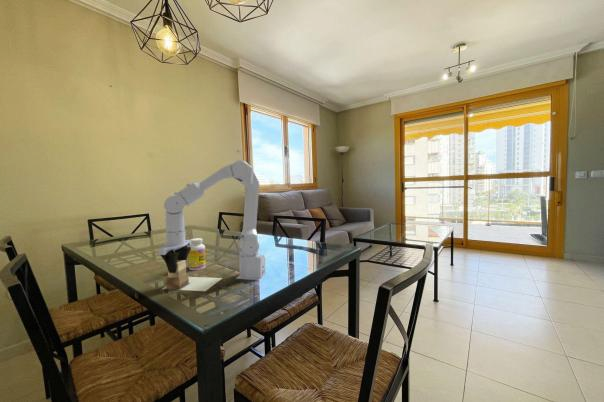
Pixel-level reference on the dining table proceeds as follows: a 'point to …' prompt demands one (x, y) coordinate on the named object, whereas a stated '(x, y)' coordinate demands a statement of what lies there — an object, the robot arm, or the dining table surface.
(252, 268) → the robot arm
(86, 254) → the dining table surface
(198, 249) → the supplement bottle
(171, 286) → the walnut base
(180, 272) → the maple pillar
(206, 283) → the cream flat slab
